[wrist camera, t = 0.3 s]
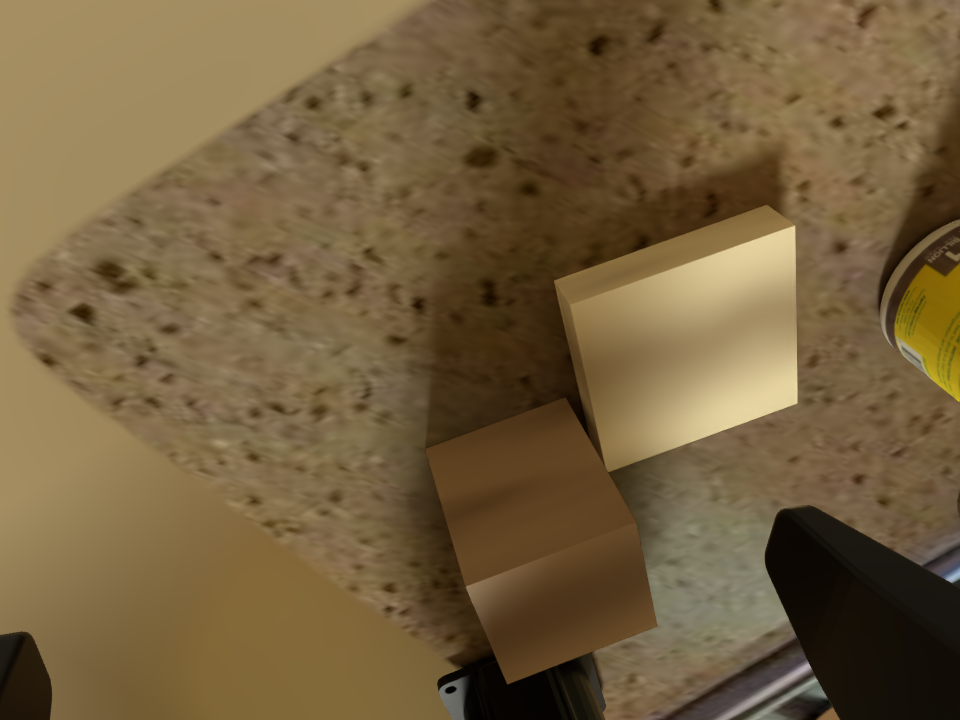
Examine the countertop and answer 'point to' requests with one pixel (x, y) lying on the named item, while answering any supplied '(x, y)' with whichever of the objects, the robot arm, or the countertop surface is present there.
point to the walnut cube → (542, 539)
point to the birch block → (684, 336)
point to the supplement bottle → (928, 307)
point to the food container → (958, 503)
